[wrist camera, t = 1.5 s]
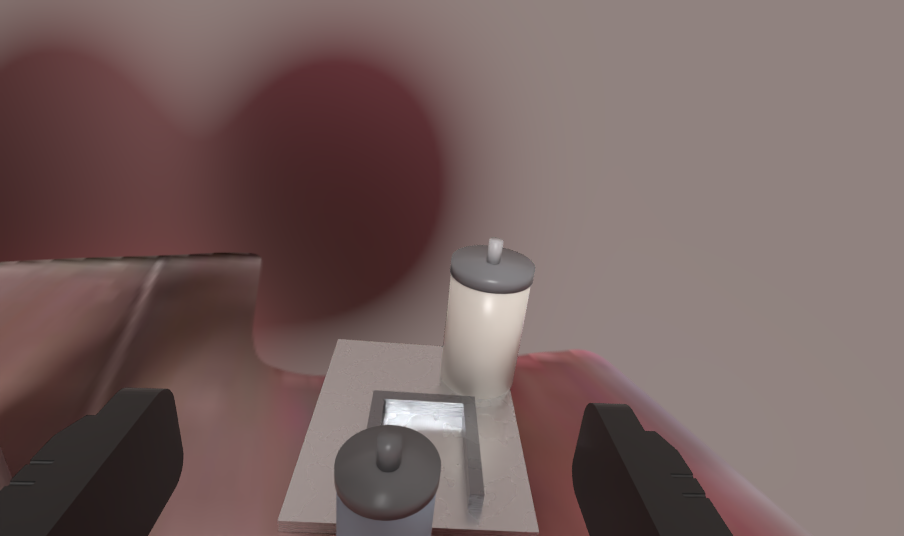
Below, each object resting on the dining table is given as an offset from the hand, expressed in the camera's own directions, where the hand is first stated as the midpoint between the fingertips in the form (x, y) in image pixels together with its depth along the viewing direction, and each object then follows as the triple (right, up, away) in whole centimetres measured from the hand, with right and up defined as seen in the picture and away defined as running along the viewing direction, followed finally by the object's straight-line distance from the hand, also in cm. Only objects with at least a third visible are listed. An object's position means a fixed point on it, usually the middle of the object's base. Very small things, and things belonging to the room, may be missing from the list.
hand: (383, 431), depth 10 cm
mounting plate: (-2, -10, +32) cm, 34 cm away
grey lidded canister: (-3, -16, +19) cm, 25 cm away
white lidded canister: (+4, -7, +38) cm, 38 cm away
